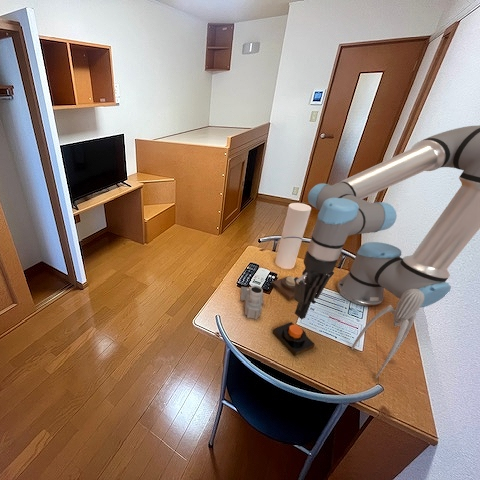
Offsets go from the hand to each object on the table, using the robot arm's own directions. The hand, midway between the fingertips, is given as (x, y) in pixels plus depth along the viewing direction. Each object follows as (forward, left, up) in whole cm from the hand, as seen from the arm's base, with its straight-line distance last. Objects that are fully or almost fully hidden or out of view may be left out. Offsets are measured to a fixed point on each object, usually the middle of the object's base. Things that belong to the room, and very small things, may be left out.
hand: (299, 315), depth 82 cm
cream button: (-18, -20, -9) cm, 28 cm away
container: (-30, -35, -12) cm, 48 cm away
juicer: (-18, +16, -12) cm, 27 cm away
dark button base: (0, 0, -12) cm, 12 cm away
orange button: (0, 0, -9) cm, 9 cm away
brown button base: (-18, -20, -12) cm, 30 cm away
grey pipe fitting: (+2, -19, -12) cm, 23 cm away
